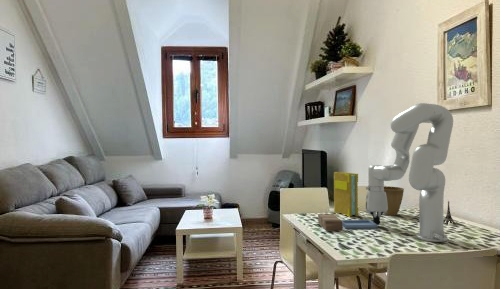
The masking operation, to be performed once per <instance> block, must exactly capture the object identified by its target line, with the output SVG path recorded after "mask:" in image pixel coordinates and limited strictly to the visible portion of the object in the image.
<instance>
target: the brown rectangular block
mask: <svg viewBox="0 0 500 289" xmlns="http://www.w3.org/2000/svg"><path fill="white" fill-rule="evenodd" d="M317 215H318V216H317V220H318V224H319V226H321V227H322V228H323V229H324V231H326V232H327V231H328V232H331V231H335V232H336V231H338V232H339V231H343V226H342V221H341V220H342V219H340V218H339V217H337V216H336V215H335V214H333V213H332V214H331V213H329V214H328V213H323V214H321V213H319V214H317Z"/></svg>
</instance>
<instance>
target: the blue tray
mask: <svg viewBox="0 0 500 289" xmlns="http://www.w3.org/2000/svg"><path fill="white" fill-rule="evenodd" d="M340 220H341V221H342V228H344V229H345V230H368V229H369V230H373V229H375V230H376V229H377V230H378V228H379V227H378V226H379V225H377V224H376V223H374V222H373V220H371V219H340Z"/></svg>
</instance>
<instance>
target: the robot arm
mask: <svg viewBox="0 0 500 289" xmlns="http://www.w3.org/2000/svg"><path fill="white" fill-rule="evenodd" d="M422 123H423V124H424V123H426V124H431V125H432V127H431V128H430V130H429V131H428V135H427V136H428V137H427V139H426V140H427V141H426V143H423V144H420V145H418V146H417V147H416V148H415V149H414V150H413V153H412V156H411V155H410V149H411V146H412V144H413V141H414V139H415V137H416V135H417V132H418V130H419V127H420V124H422ZM453 127H454V117H453V114H452V113H451V111H450V110H449V109H448V108H446V107H445V106H443V105H439V104H435V103H428V102H427V103H426V102H421V103H417V104H415V105H413V106H411V107H409V108H407V109H406V110H404V111H402V112H400V113H399V114H397V115H396V116H394V117H393V119H392V120H391V122H390V129H391V131H392V132H393V133H394V136H393V138H392V141H391V144H390V146H391V148H392V149H394V151H395V153H396V156H395V160H394V162H393V165H392V164H391V165H379V164H377V165H376V164H374V165H372V164H371V165H369V166H368V170H367V171H368V172H367V173H368V176H367V179H368V185H367V186H366V187H365V190H367V192H366V198H365V213H366V214H369V215H371V216H372V222H374V223H376V224H377V225H378V226H380V222H381V217H382V216H383V215H385V213H387V210H388V204H387V196H386V192H384V186H385V182H390V181H398V180H401V179H402V178H403V177H404V176H405V174H406V172H407V170H408V168H409V173H408V182H409V184H410V186H411V187H412V188H413V190H416V191H419V198H418V199H419V200H418V201H419V204H418V206H419V210H418V211H419V214H418V215H419V218H418V219H419V232H418V233H416V234H415V237H416V239H419V240H421V241H427V242H431V243H432V242H433V243H442V242H447V241H449V237H448V236H447V235H445V230H444V228H445V227H444V226H445V224H444V219H445V217H444V194H445V188H446V187H445V186H446V176H445V173H444V172H443V171H442V170H441V169H439V168H436V167H435V166H440V165H443V164H444V163H445V162H446V161H447V156H448V151H449V146H450V143H451V136H452V131H453ZM410 157H411V161H410ZM409 164H410V167H409Z"/></svg>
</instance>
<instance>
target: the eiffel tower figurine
mask: <svg viewBox="0 0 500 289" xmlns="http://www.w3.org/2000/svg"><path fill="white" fill-rule="evenodd" d="M445 221H446V225H447V226H449V225H448V222H449V221H450V223H452V222H453V224H454V225H453V226H456V225H457V223H455V222H456V221H454V219H453V218H452V214H451V210H450V201H449V200H448V201H447V212H446V216H445V217H444V222H445Z"/></svg>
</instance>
